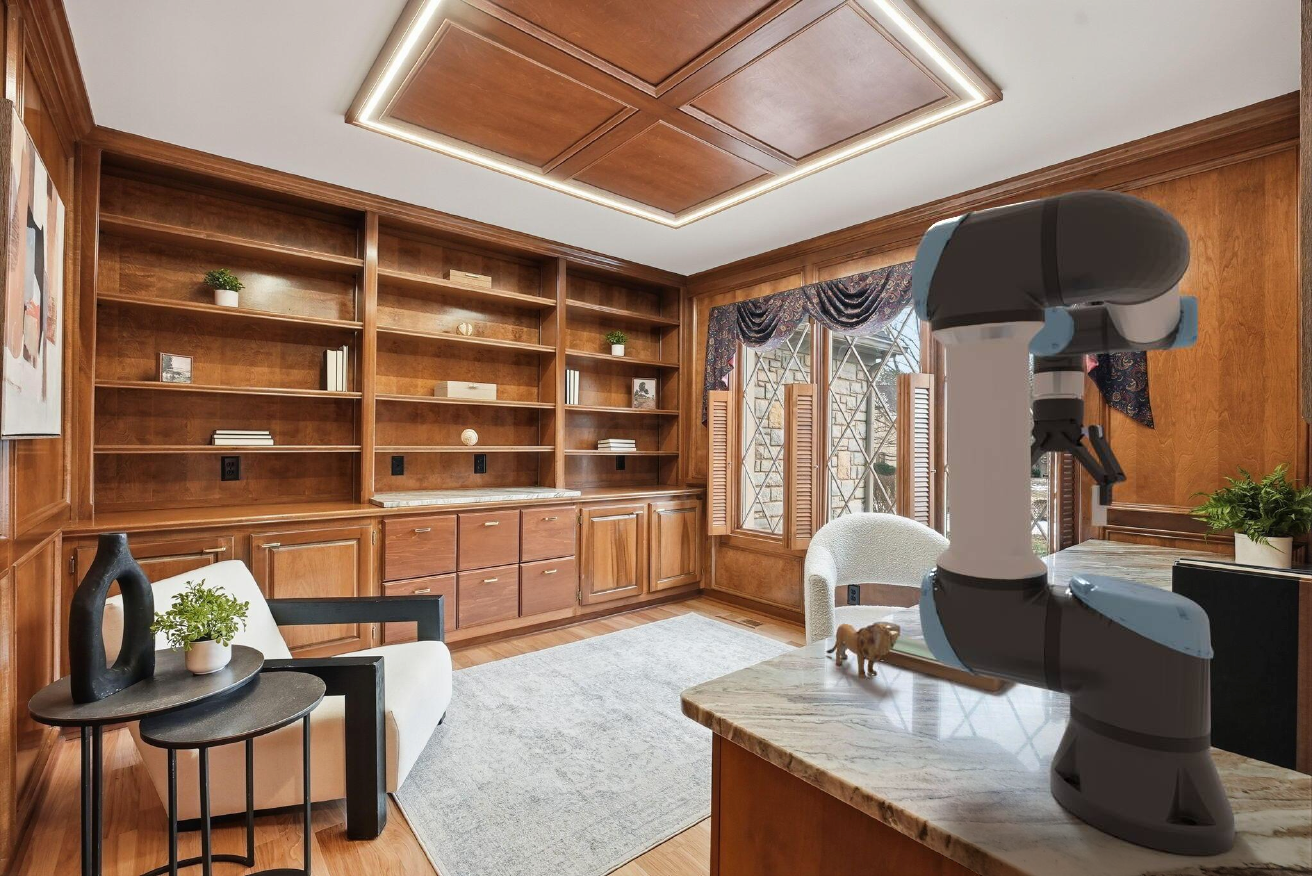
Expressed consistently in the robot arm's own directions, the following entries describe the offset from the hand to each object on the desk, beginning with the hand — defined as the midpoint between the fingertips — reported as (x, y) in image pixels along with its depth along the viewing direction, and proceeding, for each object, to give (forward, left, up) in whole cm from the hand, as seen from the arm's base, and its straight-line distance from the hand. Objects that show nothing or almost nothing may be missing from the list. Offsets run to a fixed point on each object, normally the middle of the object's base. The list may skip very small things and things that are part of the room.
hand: (1057, 521), depth 108 cm
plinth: (-15, +14, -25) cm, 32 cm away
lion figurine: (-27, +22, -26) cm, 43 cm away
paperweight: (-8, +27, -25) cm, 38 cm away
